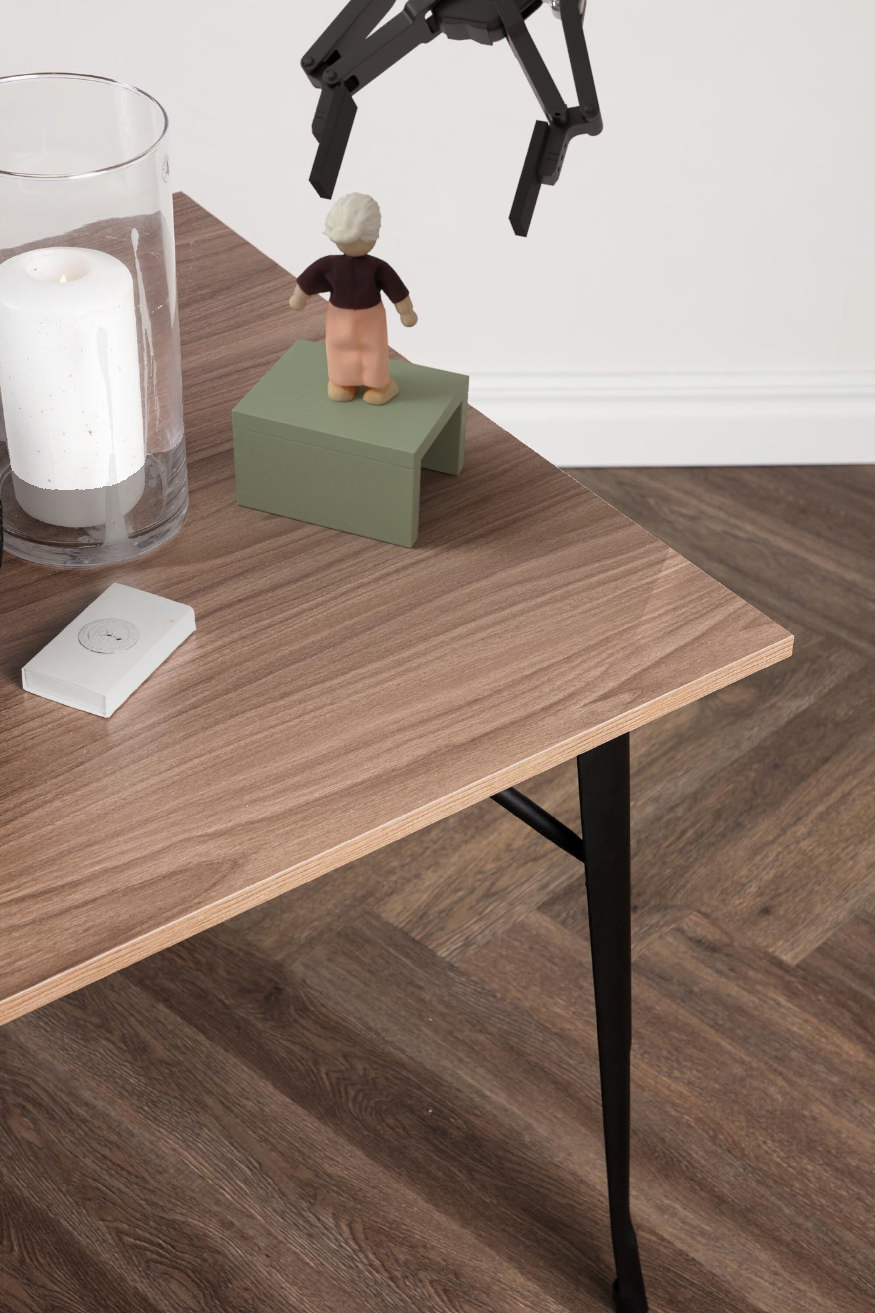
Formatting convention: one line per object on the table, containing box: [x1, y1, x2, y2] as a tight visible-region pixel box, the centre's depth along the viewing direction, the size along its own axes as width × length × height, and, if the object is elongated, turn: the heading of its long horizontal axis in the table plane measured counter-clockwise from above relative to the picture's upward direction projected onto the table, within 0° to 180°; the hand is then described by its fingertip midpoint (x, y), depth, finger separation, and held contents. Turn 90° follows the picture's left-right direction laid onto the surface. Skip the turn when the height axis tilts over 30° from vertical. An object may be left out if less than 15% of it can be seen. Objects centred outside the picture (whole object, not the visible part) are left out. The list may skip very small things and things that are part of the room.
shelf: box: [231, 338, 470, 549], centre depth 91 cm, size 12×10×7 cm
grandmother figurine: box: [288, 191, 419, 405], centre depth 85 cm, size 8×4×13 cm, turn 93°
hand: (416, 209), depth 91 cm, fingers open, 13 cm apart
